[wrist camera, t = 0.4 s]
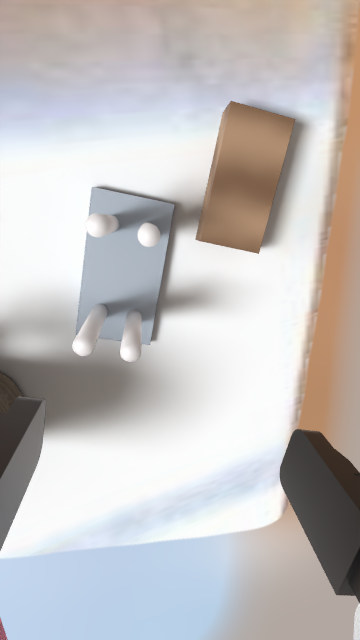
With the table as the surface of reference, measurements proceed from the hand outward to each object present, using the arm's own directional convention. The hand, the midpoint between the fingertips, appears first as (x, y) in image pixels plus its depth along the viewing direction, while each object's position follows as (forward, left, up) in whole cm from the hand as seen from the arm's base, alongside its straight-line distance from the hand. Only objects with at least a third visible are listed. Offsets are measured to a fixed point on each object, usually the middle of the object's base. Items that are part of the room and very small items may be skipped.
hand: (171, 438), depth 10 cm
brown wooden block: (-11, +7, -26) cm, 30 cm away
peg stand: (-1, -3, -26) cm, 26 cm away
